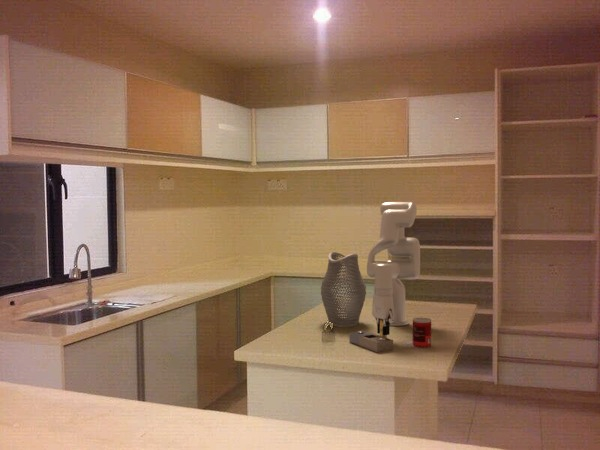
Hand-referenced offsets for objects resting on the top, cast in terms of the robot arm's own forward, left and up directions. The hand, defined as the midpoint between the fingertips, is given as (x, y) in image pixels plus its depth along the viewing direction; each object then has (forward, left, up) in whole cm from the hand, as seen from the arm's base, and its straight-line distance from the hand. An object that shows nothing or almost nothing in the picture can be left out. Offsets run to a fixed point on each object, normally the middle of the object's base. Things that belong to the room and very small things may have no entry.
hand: (383, 333), depth 253 cm
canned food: (+16, +8, -3) cm, 18 cm away
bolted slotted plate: (+6, -11, -3) cm, 13 cm away
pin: (0, 0, -3) cm, 3 cm away
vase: (-37, +3, -3) cm, 37 cm away
